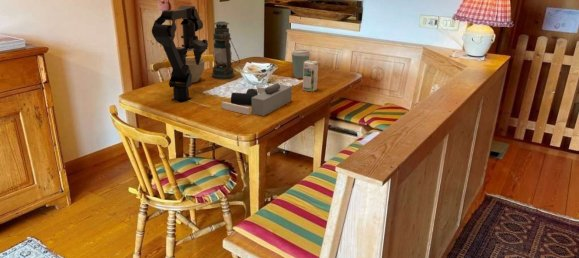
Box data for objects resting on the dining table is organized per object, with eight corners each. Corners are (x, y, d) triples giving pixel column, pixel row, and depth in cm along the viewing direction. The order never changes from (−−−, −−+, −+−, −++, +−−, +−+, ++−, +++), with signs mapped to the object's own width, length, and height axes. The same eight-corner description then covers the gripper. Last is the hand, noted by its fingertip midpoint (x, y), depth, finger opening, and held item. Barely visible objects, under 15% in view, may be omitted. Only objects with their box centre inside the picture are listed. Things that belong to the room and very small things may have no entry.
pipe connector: (237, 86, 202) (268, 88, 200) (237, 97, 204) (268, 99, 202) (230, 94, 191) (263, 96, 190) (231, 105, 194) (263, 107, 192)
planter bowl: (207, 77, 234) (206, 57, 230) (202, 85, 219) (201, 64, 215) (177, 76, 234) (176, 56, 229) (171, 84, 219) (169, 63, 214)
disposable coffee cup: (287, 78, 237) (288, 51, 231) (293, 73, 246) (294, 47, 240) (306, 80, 234) (307, 52, 228) (311, 75, 243) (312, 49, 238)
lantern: (205, 73, 241) (203, 19, 230) (229, 70, 248) (227, 17, 237) (219, 81, 226) (217, 24, 214) (244, 78, 233) (243, 22, 222)
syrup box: (302, 90, 216) (303, 62, 211) (307, 87, 221) (308, 59, 215) (312, 92, 214) (313, 63, 208) (317, 89, 219) (318, 61, 213)
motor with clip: (260, 117, 178) (260, 94, 175) (221, 108, 187) (221, 86, 184) (293, 99, 202) (294, 79, 198) (258, 92, 211) (258, 72, 207)
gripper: (188, 38, 187) (190, 73, 193) (215, 32, 202) (216, 65, 208) (169, 35, 192) (172, 69, 198) (197, 30, 207) (199, 62, 213)
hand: (191, 66), depth 204 cm, fingers open, 9 cm apart
